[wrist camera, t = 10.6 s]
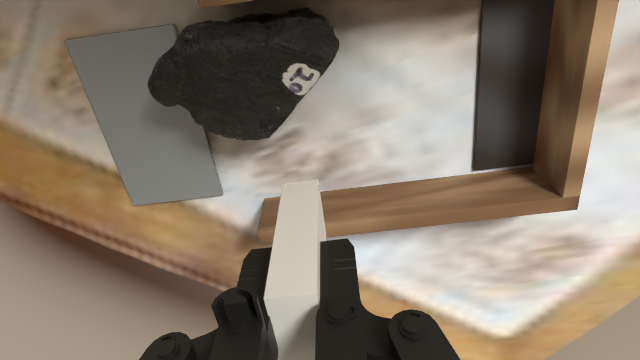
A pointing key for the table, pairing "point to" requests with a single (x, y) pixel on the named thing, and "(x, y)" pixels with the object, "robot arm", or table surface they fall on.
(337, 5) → the table surface
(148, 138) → the mat
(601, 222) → the table surface
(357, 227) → the open wooden frame
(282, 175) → the table surface
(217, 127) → the rock
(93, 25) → the table surface
